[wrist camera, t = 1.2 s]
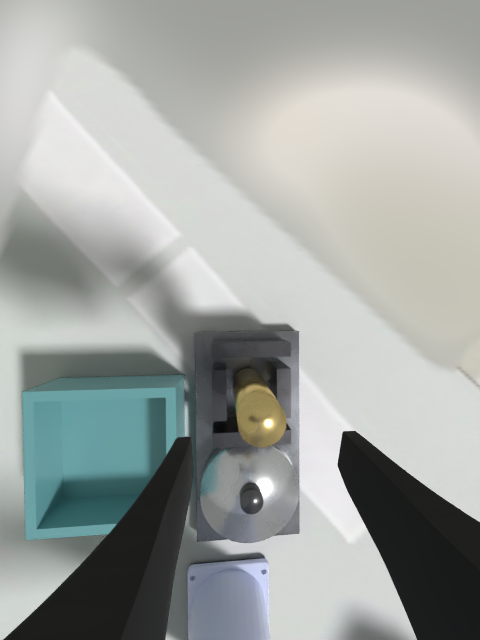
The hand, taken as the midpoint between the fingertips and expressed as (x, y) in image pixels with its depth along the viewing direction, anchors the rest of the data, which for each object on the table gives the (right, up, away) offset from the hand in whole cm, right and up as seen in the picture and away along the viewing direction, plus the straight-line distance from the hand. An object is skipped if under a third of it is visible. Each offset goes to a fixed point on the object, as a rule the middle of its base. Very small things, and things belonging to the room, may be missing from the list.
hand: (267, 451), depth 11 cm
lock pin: (-1, 0, +11) cm, 11 cm away
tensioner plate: (-1, -5, +12) cm, 13 cm away
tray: (-13, -5, +11) cm, 18 cm away
